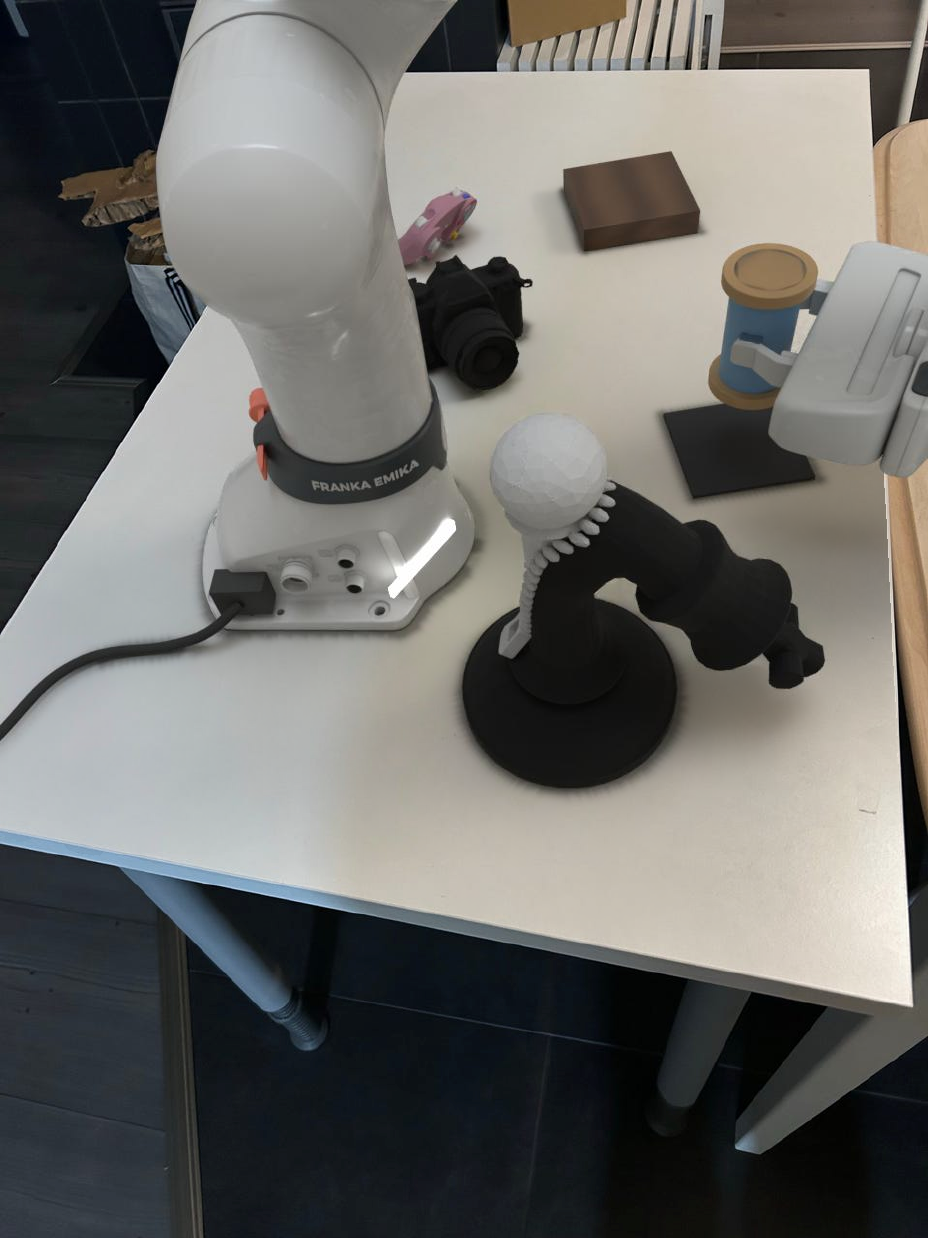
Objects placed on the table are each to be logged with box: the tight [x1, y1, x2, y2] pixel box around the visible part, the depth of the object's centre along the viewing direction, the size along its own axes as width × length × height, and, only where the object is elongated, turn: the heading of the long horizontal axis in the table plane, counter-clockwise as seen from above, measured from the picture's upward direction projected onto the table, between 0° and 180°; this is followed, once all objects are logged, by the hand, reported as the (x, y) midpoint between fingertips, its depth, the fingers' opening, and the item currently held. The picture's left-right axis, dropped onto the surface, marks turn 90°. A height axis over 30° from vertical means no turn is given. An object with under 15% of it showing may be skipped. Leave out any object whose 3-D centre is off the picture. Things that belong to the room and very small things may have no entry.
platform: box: [562, 150, 701, 252], centre depth 98 cm, size 12×12×2 cm
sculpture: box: [461, 412, 826, 789], centre depth 55 cm, size 15×24×25 cm, turn 82°
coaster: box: [662, 403, 817, 500], centre depth 77 cm, size 10×10×1 cm
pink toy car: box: [397, 186, 478, 266], centre depth 97 cm, size 10×5×7 cm, turn 143°
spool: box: [707, 242, 819, 410], centre depth 68 cm, size 6×6×10 cm
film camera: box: [407, 254, 534, 392], centre depth 84 cm, size 15×10×9 cm, turn 112°
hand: (747, 321), depth 68 cm, fingers closed on spool, 5 cm apart
